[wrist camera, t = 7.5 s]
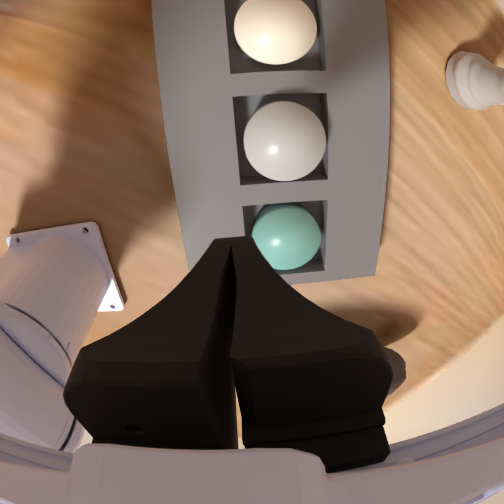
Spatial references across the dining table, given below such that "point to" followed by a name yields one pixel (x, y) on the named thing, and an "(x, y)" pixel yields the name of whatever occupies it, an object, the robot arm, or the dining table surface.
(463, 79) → the rook chess piece
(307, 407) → the robot arm
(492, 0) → the dining table surface
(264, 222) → the teal button
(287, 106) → the grey button
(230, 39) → the button board
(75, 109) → the dining table surface
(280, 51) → the cream button
